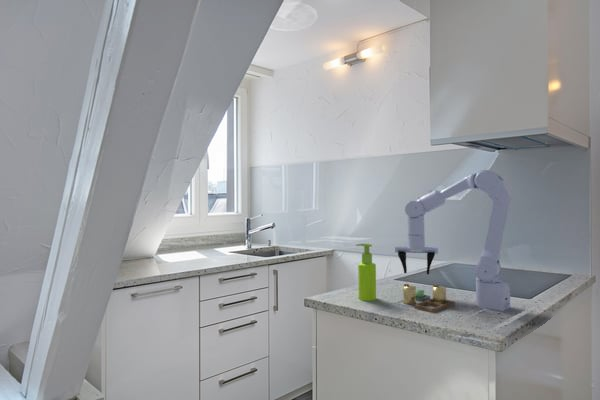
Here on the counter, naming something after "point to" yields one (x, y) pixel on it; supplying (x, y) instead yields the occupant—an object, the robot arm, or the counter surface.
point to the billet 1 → (409, 294)
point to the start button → (420, 293)
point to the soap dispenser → (367, 275)
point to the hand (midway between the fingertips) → (416, 273)
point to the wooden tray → (433, 305)
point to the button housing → (423, 298)
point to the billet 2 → (439, 294)
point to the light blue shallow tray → (405, 305)
